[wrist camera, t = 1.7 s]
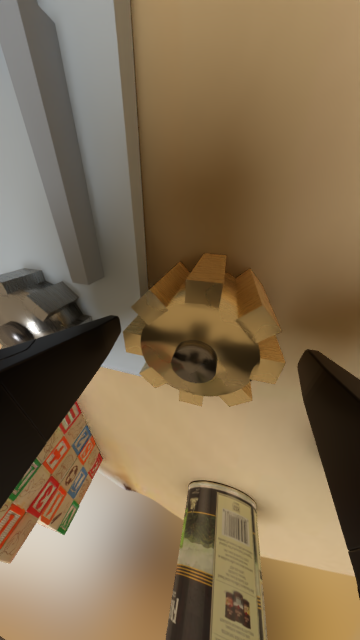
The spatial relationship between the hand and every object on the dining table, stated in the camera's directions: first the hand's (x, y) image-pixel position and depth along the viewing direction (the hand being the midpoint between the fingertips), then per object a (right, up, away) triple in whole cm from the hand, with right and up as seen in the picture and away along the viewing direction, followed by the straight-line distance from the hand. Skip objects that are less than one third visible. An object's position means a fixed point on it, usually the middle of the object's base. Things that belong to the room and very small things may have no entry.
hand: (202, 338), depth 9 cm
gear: (-11, +1, +5) cm, 12 cm away
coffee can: (+5, -26, +19) cm, 33 cm away
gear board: (-10, +6, +3) cm, 12 cm away
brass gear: (+1, +2, +3) cm, 3 cm away
